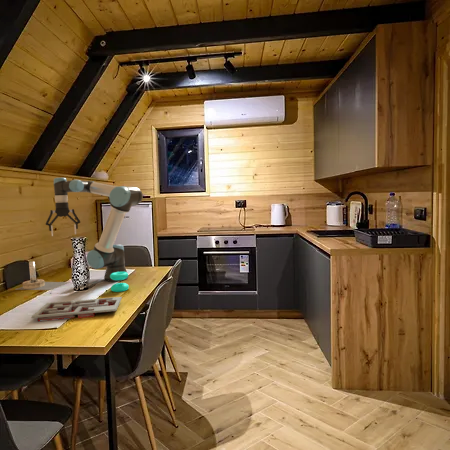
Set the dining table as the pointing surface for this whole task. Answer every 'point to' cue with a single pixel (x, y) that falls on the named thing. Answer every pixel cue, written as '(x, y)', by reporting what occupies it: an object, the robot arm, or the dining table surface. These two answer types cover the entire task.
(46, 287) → the board
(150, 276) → the dining table surface
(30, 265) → the peg
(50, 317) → the maze game
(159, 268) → the dining table surface
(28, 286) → the tan faceted ring
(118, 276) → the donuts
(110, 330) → the dining table surface
